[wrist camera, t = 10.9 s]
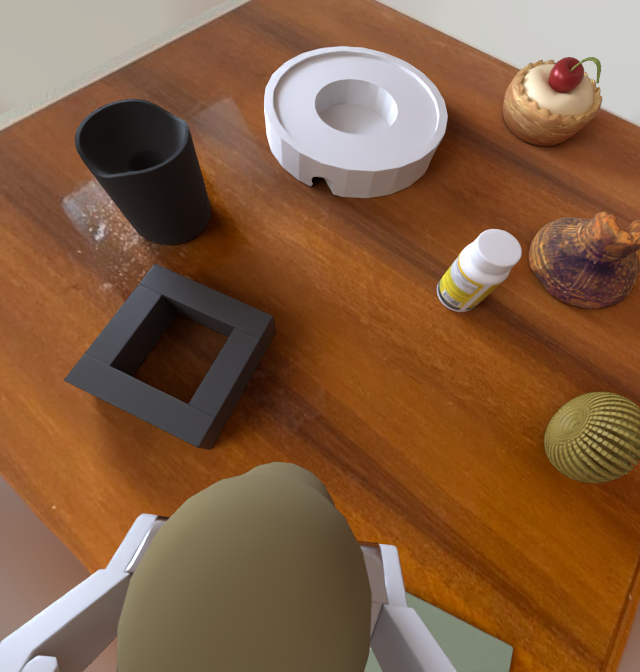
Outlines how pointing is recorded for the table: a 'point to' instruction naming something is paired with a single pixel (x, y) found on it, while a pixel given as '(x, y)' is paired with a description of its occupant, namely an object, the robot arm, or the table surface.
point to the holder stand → (144, 332)
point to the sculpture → (594, 437)
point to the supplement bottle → (478, 270)
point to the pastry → (551, 101)
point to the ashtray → (353, 120)
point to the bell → (586, 260)
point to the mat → (458, 641)
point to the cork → (250, 583)
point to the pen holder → (147, 168)
